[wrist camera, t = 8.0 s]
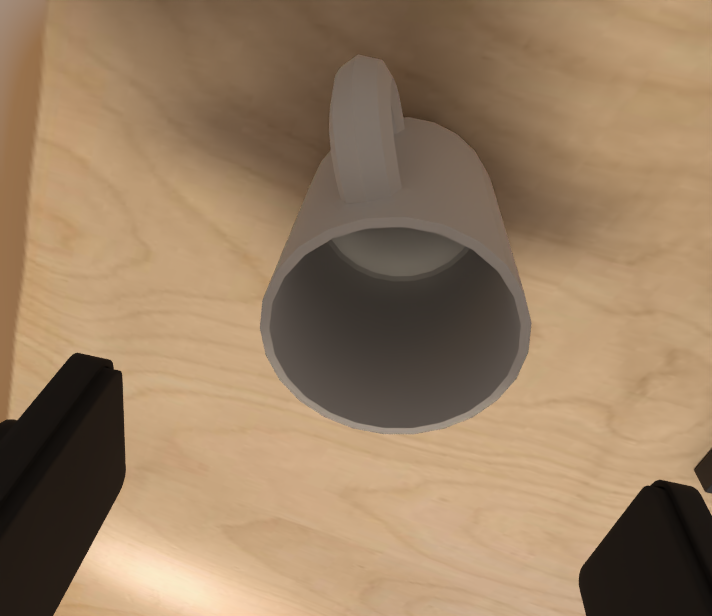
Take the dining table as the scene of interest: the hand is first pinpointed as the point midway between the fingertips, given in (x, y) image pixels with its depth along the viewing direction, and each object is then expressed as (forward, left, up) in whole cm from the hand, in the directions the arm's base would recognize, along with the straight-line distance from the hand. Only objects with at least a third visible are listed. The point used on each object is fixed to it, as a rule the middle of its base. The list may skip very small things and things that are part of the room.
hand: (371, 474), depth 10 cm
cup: (0, 0, -15) cm, 15 cm away
